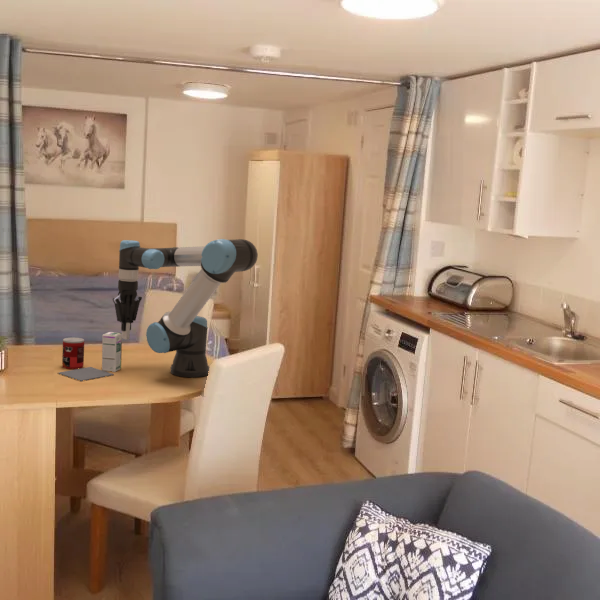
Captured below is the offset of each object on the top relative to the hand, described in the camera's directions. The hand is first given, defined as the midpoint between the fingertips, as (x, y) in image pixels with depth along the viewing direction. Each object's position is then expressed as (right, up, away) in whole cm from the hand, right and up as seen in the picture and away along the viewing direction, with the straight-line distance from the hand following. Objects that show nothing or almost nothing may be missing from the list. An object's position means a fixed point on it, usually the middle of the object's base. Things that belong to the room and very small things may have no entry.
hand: (125, 338), depth 291 cm
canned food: (-20, -11, -4) cm, 23 cm away
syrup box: (-5, -12, -4) cm, 13 cm away
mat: (-12, -13, -13) cm, 22 cm away
